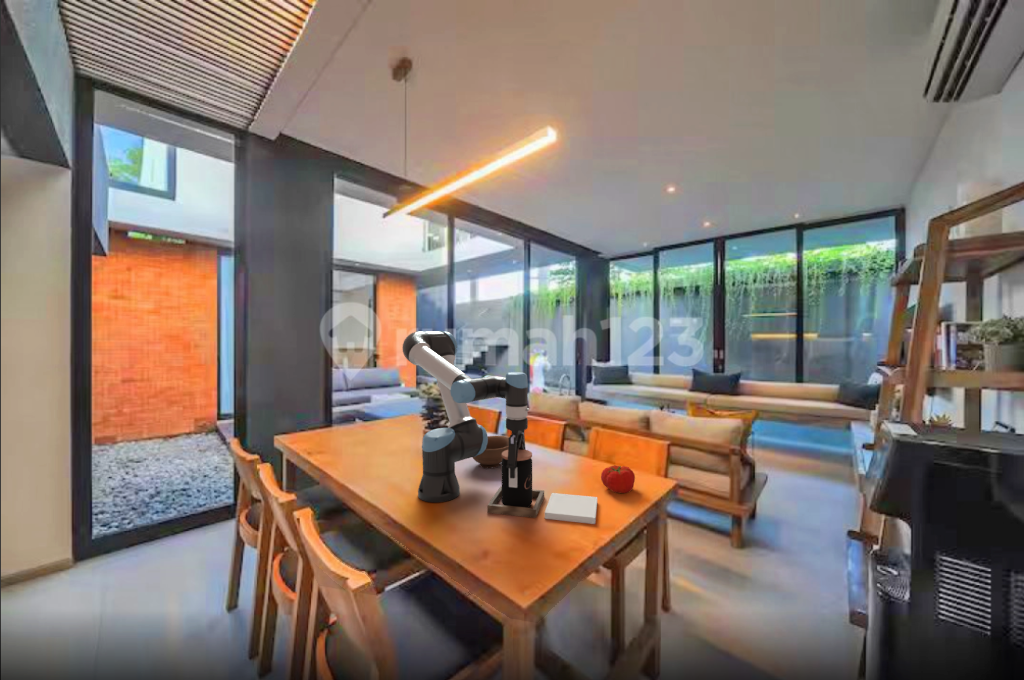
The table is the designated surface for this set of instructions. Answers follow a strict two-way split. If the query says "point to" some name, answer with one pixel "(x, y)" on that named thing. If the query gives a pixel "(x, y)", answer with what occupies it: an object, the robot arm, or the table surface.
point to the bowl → (493, 452)
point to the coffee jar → (518, 481)
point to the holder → (512, 509)
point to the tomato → (618, 478)
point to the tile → (572, 508)
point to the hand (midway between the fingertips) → (517, 480)
